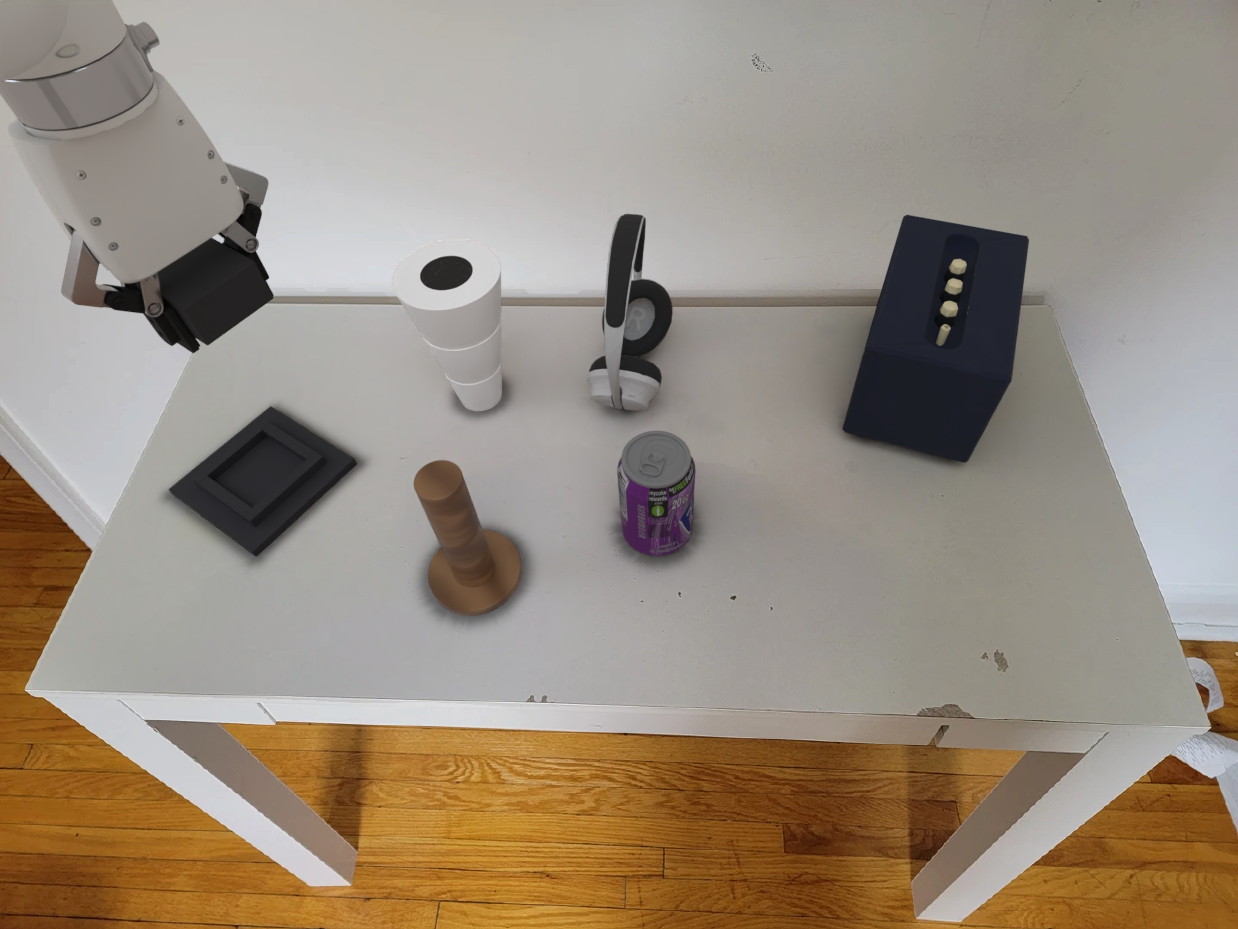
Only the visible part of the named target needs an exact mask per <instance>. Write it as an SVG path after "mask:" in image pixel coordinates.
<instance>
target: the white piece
mask: <svg viewBox="0 0 1238 929" xmlns="http://www.w3.org/2000/svg"><path fill="white" fill-rule="evenodd" d="M391 287H392V291H393V292H394V294H395V295H396V297H397V299H398V300H399V302H400V304H401V305H402V307H403V309H404V310H405V313H406V314H407V315H408V317H409V319H410V320H411V322H412V323H413V325H414V327H415V328H416V331H417V332H418V333H419V334H420V337H421V338H422V340H423V342H424V343H425V345H426V346H427V348H428V350H429V351H430V352H431V354H432V356H433V358H434V359H435V361H436V363H437V364H438V366H439V367H440V369H441V370H442V372H443V374H444V376H445V378H446V379H447V381H448V383H449V384H450V386H451V387H452V389H453V392H455V394H456V396H457V398H458V399H459V401H460V403H461V404H462V405H463V407H464V408H466V409H467V410H469V411H473V412H485V411H488V410H491V409H493V408H495V407H496V406H497V405H498V404H499V403H500V401H501V400H502V397H503V371H502V370H503V364H502V363H503V361H502V360H503V359H502V264H501V260H500V258H499V255H498V254H497V253H496V252H495V250H493V249H492V248H491V247H490V246H488V245H486V244H485V243H482V242H481V241H478V240H474V239H469V238H462V237H461V238H460V237H459V238H458V237H456V238H453V237H452V238H451V237H450V238H444V239H439V240H434V241H431V242H428V243H425V244H423V245H421V246H418V247H416V248H415V249H413V250H411V251H410V252H408V253H407V254H406V255H405V256H403V257H402V258H401V259H400V261H399V262H398V263H397V264H396V266H395V267H394V270H393V272H392V275H391Z"/></svg>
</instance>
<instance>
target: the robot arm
mask: <svg viewBox="0 0 1238 929" xmlns="http://www.w3.org/2000/svg"><path fill="white" fill-rule="evenodd" d="M159 46H160V38H159V37H158V35H157V33H156V32H155V30H154V29H153V27H151V25H150V24H149V23H147V22H146V21H142V22H140V23H138V24H136V25H134V24H127V23H125V22H124V19H123V18H122V16H121V14H120V13H119V10H118V9H117V7H116V5H115V3H114V1H113V0H0V96H1V98H2V99H3V100H4V102H5V103H6V105H7V106H8V107H9V109H10V111H11V112H12V114H14V116H15V117H16V119H15V120H13V121H12V122H11V123H10V124H9V126H8V127H7V131H8V135H9V137H10V139H11V141H12V144H13V146H14V148H15V151H16V153H17V154H18V157H19V158H20V160H21V162H22V165H23V166H24V169H25V170H26V171H27V173H28V175H29V177H30V178H31V181H32V182H33V184H34V186H35V187H36V189H37V191H38V193H39V194H40V196H41V198H42V199H43V200H44V203H45V204H46V206H47V207H48V209H49V211H50V212H51V214H52V215H53V216H54V218H55V220H56V221H57V223H58V224H59V226H60V228H61V229H62V230H63V232H64V234H65V235H66V236H67V238H68V240H69V241H70V244H69V250H68V254H67V259H66V264H65V269H64V273H63V274H64V275H63V279H62V284H61V289H60V293H61V295H62V296H63V297H64V298H66V299H67V300H68V301H70V302H71V303H73V304H74V305H76V306H83V307H84V306H85V307H91V308H92V307H93V308H101V309H102V308H106V309H112V310H114V311H119V312H127V313H133V314H134V313H135V314H143V316H144V317H145V319H146V320H147V321H148V322H149V324H150V325H151V327H152V328H153V329H154V331H155V332H156V334H157V335H158V336H159V338H161V340H162V341H164V342H165V343H166V344H167V345H169V346H171V347H173V346H175V345H176V344H178V345H180V346H181V347H183V349H185V350H187V351H189V352H190V353H191V354H195V353H197V352H198V351H199V350H200V347H201V344H200V343H199V340H198V339H196V338H195V337H194V336H193V335H192V333H191V332H190V330H189V329H188V327H187V326H186V324H185V323H184V321H183V320H182V318H181V317H180V315H179V314H178V313H177V311H176V310H175V309H174V308H173V307H171V306H170V305H168V304H167V303H165V302H164V301H163V299H162V294H161V288H160V283H159V277H158V272H159V271H160V270H162V269H163V268H165V267H167V266H168V265H170V264H171V263H173V262H174V261H176V260H178V259H179V258H181V257H182V256H184V255H186V254H187V253H189V252H190V251H192V250H193V249H195V248H196V247H198V246H199V245H201V244H203V243H204V242H206V241H207V240H209V239H210V238H214V237H215V236H217V235H218V236H219V237H221V238H222V239H223V242H221V243H222V244H224V245H226V246H228V247H229V248H231V249H233V250H235V251H237V252H238V253H240V254H242V255H244V256H246V257H247V258H249V259H251V260H253V261H254V262H255V264H256V266H257V268H258V269H259V271H260V273H261V275H262V277H263V279H264V281H265V283H266V284H267V286H268V288H269V290H270V292H271V294H272V296H273V297H274V293H273V291H272V289H271V287H270V285H269V283H268V280H269V279H270V275H269V272H268V271H267V269H266V267H265V265H264V264H263V262H262V260H261V258H260V256H259V254H258V252H257V251H258V249H259V246H260V241H259V239H258V238H257V236H258V235H257V234H258V230H259V227H260V223H261V220H262V216H263V211H262V209H261V207H262V206H263V205H264V201H265V198H266V195H267V193H268V192H267V191H268V189H269V188H268V187H269V180H268V178H267V177H266V176H264V175H261V174H260V173H257V172H255V171H253V170H250V169H248V168H244V167H242V166H239V165H236V164H233V163H230V162H227V161H224V160H223V158H222V156H221V155H220V153H219V151H218V150H217V148H216V146H215V145H214V144H213V142H212V140H211V139H210V137H209V136H208V134H207V133H206V131H205V130H204V128H203V127H202V125H201V123H200V122H199V120H197V118H196V117H195V115H194V114H193V112H192V111H191V109H189V107H188V106H187V104H186V103H185V101H184V100H183V99H182V98H181V96H180V95H179V94H178V92H177V91H176V89H175V88H174V87H173V86H172V85H171V83H170V82H169V81H168V80H167V78H166V77H165V76H164V75H163V74H161V72H160V73H159V72H158V71H156V70H155V69H154V68H153V66H152V65H151V62H150V61H149V58H148V55H149V54H150V53H151V50H152V49H154V48H156V47H159ZM100 265H102V266H103V267H104V268H105V269H106V270H107V271H108V272H110V273H111V274H112V276H113V277H114V278H115V279H116V280H118V281H119V282H120V285H114V284H109V283H108V284H107V283H103V284H98V283H96V280H97V276H98V271H99V266H100Z"/></svg>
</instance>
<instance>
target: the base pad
mask: <svg viewBox="0 0 1238 929" xmlns="http://www.w3.org/2000/svg"><path fill="white" fill-rule="evenodd" d="M357 464H358V463H357V461H356V459H355V458H354V457H352V456H351V455H349V454H348V453H346V452H345V451H343V450H341V449H340V448H339V447H336V446H335V445H333V444H332V443H330V442H329V441H327V440H326V439H324V438H322V437H321V436H319V435H317V434H316V433H315V432H313V431H311V430H310V429H309V428H306V427H305V426H303V425H301V424H300V423H299V422H297V421H296V420H294V419H292V418H290V416H287V415H285V414H284V413H282V412H281V411H279V410H278V409H276V408H275V407H273V406H268V408H266V409H265V410H264V411H262V412H261V413H260V414H259V415H258V416H256V417H255V418H254V419H253V420H252V421H251V422H249V423H248V424H247V425H245V426H244V427H243V428H242V429H241V430H239V431H238V432H237V433H236V434H234V435H233V436H232V437H231V438H230V439H228V440H227V441H226V442H225V443H224V444H222V445H221V446H220V447H218V448H217V449H216V450H215V451H214V452H212V453H211V454H209V456H208V457H206V458H205V459H204V460H202V461H201V462H200V463H199V464H198V465H197V466H195V467H194V468H193V469H191V470H190V471H189V472H188V473H187V474H185V475H184V476H183V477H182V478H181V479H179V480H178V481H177V482H176V483H174V484H173V485H172V486H171V487H169V488H168V491H169V492H170V494H172V496H174V497H175V498H176V499H178V500H179V501H181V502H182V503H183V504H185V505H186V506H187V507H188V508H190V509H191V510H192V511H194V512H195V513H196V514H198V515H199V516H200V517H202V518H203V519H204V520H206V521H207V522H209V523H210V524H211V525H213V526H214V527H215V528H217V529H218V530H219V531H220V532H222V533H223V534H224V535H226V536H227V537H229V538H230V539H231V540H233V541H234V542H235V543H236V544H238V545H239V546H241V547H242V548H243V549H245V550H246V551H247V552H248V553H250V554H251V555H253V556H254V557H257V556H259V555H260V554H261V553H262V552H263V551H264V550H265V549H266V548H268V547H269V546H270V545H271V544H272V543H273V542H274V541H275V540H276V539H277V538H278V537H280V536H281V535H282V534H283V533H284V532H286V530H287V529H288V528H289V527H290V526H291V525H293V524H294V523H295V522H296V521H297V520H298V519H299V518H300V517H301V516H302V515H303V514H304V513H306V512H307V511H308V510H309V509H310V508H311V507H312V506H313V505H314V504H315V503H316V502H318V500H320V499H321V498H322V497H323V496H324V495H325V494H326V493H327V492H328V491H330V489H332V488H333V487H334V486H335V485H336V484H337V483H338V482H339V481H340V480H341V479H342V478H343V477H344V476H346V475H347V474H348V473H349V472H350V471H351V470H353V468H354V467H356V466H357Z"/></svg>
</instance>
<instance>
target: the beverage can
mask: <svg viewBox="0 0 1238 929" xmlns="http://www.w3.org/2000/svg"><path fill="white" fill-rule="evenodd" d="M616 470H617V471H616V472H617V473H616V475H617V487H618V499H619V510H620V511H619V512H620V525H621V533H622V536H623V538H624V539H625V541H626V543H627V544H628V545H629V546H630V547H631V548H632V549H634V550H635V551H637V552H639V553H641V554H644V555H647V556H651V557H662V556H667V555H671V554H673V553H676V552H677V551H679V550H681V549H682V548H683V547H684V546H685V545H686V544H687V543H688V541H690V538H691V536H692V533H693V528H694V527H693V526H694V507H695V490H696V473H697V472H696V465H695V460H694V458H693V456H692V454H691V451H690V448H689V446H688V444H687V443H686V442H685V441H684V440H683V439H682V438H681V437H679V436H677V435H676V434H674V433H671V432H668V431H665V430H649V431H643V432H641V433H639V434H637V435H635V436H633V437H632V438H631V439H630V440H628V442H626V444H625V446H624V447H623V449H622V452H621V456H620V458H619V461H618V463H617V469H616Z"/></svg>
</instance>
